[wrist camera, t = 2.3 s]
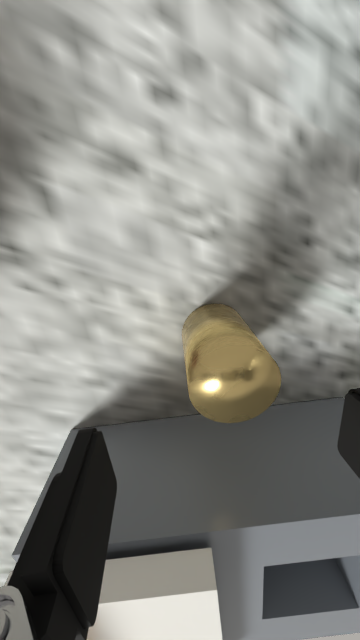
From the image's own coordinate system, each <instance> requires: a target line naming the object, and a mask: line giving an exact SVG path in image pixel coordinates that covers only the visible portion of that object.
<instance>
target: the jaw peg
mask: <svg viewBox="0 0 360 640" xmlns="http://www.w3.org/2000/svg"><path fill="white" fill-rule="evenodd" d="M182 341H183V349H184V358H185V367H186V375H187V384H188V393H189V398H190V400H191V403H192V404H193V406H194V407H195V409H196V410H197V411H198V412H199V413H200V414H202V415H203V416H204V417H206V418H208V419H210V420H213V421H216V422H221V423H238V422H243V421H247V420H249V419H252V418H254V417H256V416H258V415H260V414H261V413H263V412H264V411H265V410H266V409H268V408H269V407H270V406H271V404H272V403H273V402H274V400H275V399H276V397H277V395H278V393H279V390H280V387H281V374H280V370H279V367H278V365H277V364H276V362H275V361H274V359H273V358H272V357H271V356H270V354H269V353H268V352H267V350H266V349H265V348H264V346H263V345H262V344H261V342H260V341H259V340H258V339H257V337H256V336H255V335H254V333H253V332H252V331H251V329H250V328H249V327H248V326H247V324H246V323H245V322H244V320H243V319H242V318H241V316H240V315H239V314H238V313H237V312H236V311H235V310H234V309H232V308H231V307H229V306H226V305H223V304H208V305H204V306H202V307H199V308H198V309H196V310H195V311H193V312H192V313H191V314H190V315H189V316H188V318H187V319H186V321H185V323H184V325H183V329H182Z"/></svg>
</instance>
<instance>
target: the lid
mask: <svg viewBox="0 0 360 640" xmlns="http://www.w3.org/2000/svg"><path fill="white" fill-rule="evenodd" d="M12 573H13V571H11V572H10V574H9V576H8V578H7V581H6V583H5V585H4V586H7V585H8V582H9V580H10V578H11V575H12ZM87 640H222V631H221V622H220V613H219V603H218V594H217V586H216V579H215V571H214V563H213V556H212V548H203V549H194V550H186V551H177V552H169V553H160V554H152V555H144V556H135V557H127V558H118V559H110V560H106V562H105V568H104V574H103V580H102V586H101V593H100V599H99V605H98V611H97V617H96V621H95V624H94V626H92V627H89V629H88V635H87Z"/></svg>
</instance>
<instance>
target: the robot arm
mask: <svg viewBox="0 0 360 640" xmlns="http://www.w3.org/2000/svg"><path fill="white" fill-rule="evenodd" d="M337 447H338V451H339V453H340V455H341V456H342V458H343V459H344V460H345V461H346V463H347V464H348V465H349V466H350V468H351V469H352V470H353V471H354V473H355V474H356V475H357V476H358V478H359V479H360V388H357V389H351V390H349V392H348V394H346V396H345V400H344V406H343V413H342V419H341V425H340V431H339V437H338V444H337ZM116 493H117V480H116V476H115V473H114V470H113V466H112V463H111V460H110V456H109V453H108V450H107V446H106V443H105V440H104V436H103V433H102V431H97V429H96V428H88V429H81V430H79V431H78V433H77V435H76V438H75V440H74V443H73V445H72V448H71V450H70V453H69V455H68V458H67V460H66V463H65V465H64V468H63V470H62V472H61V473H57V474H56V475H55V476H54V477H53V479H52V481H51V483H50V486H49V488H48V490H47V493H46V495H45V498H44V500H43V502H42V505H41V507H40V509H39V512H38V514H37V516H36V519H35V521H34V523H33V526H32V528H31V530H30V533H29V535H28V538H27V540H26V542H25V545H24V547H23V549H22V552H21V554H20V556H19V559H18V561H17V563H16V566H15V568H14V570H13V573H12V575H11V578H10V580H9V582H8V585H7V586H2V587H0V640H87V635H88V629H89V627H92V626H94V624H95V621H96V617H97V611H98V605H99V599H100V593H101V586H102V580H103V574H104V568H105V562H106V555H107V549H108V543H109V537H110V531H111V524H112V518H113V512H114V506H115V499H116Z"/></svg>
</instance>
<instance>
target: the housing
mask: <svg viewBox="0 0 360 640" xmlns="http://www.w3.org/2000/svg"><path fill="white" fill-rule="evenodd" d="M344 400H345V399H344V398H343V397H339V398H331V399H323V400H315V401H306V402H298V403H290V404H281V405H273V406H270V407H269V408H268V409H266V410H265V411H264V412H263V413H261V414H260V415H258V416H256V417H254V418H252V419H249V420H247V421H243V422H238V423H221V422H216V421H213V420H210V419H208V418H206V417H204V416H203V415H202V414H198V415H190V416H181V417H173V418H165V419H157V420H148V421H140V422H132V423H123V424H115V425H107V426H98V427H90V428H96V429H97V431H102V433H103V436H104V440H105V443H106V446H107V450H108V453H109V456H110V460H111V463H112V466H113V470H114V473H115V476H116V480H117V493H116V499H115V506H114V512H113V518H112V524H111V531H110V537H109V543H108V549H107V555H106V560H110V559H118V558H127V557H135V556H144V555H152V554H160V553H169V552H177V551H186V550H194V549H203V548H212V556H213V563H214V571H215V579H216V586H217V594H218V603H219V613H220V622H221V631H222V640H301V639H309V638H318V637H326V636H334V635H343V634H352V633H360V479H359V478H358V476H357V475H356V474H355V473H354V471H353V470H352V469H351V468H350V466H349V465H348V464H347V463H346V461H345V460H344V459H343V458H342V456H341V455H340V453H339V451H338V447H337V444H338V437H339V431H340V425H341V419H342V413H343V406H344ZM82 429H88V428H82ZM79 430H81V429H73V430H71V431H70V433H69V435H68V437H67V440H66V442H65V444H64V446H63V448H62V450H61V452H60V454H59V457H58V459H57V461H56V463H55V465H54V467H53V469H52V471H51V473H50V476H49V478H48V480H47V482H46V484H45V486H44V488H43V490H42V492H41V495H40V497H39V499H38V501H37V503H36V505H35V507H34V509H33V512H32V514H31V516H30V518H29V520H28V522H27V524H26V526H25V528H24V531H23V533H22V535H21V537H20V539H19V541H18V543H17V545H16V548H15V550H14V552H13V554H12V556H13V558H14V559H15V561H16V562H17V561H18V559H19V556H20V554H21V552H22V549H23V547H24V545H25V542H26V540H27V538H28V535H29V533H30V530H31V528H32V526H33V523H34V521H35V519H36V516H37V514H38V512H39V509H40V507H41V505H42V502H43V500H44V498H45V495H46V493H47V490H48V488H49V486H50V483H51V481H52V479H53V477H54V476H55V475H56V474H57V473H61V472H62V470H63V468H64V465H65V463H66V460H67V458H68V455H69V453H70V450H71V448H72V445H73V443H74V440H75V438H76V435H77V433H78V431H79Z"/></svg>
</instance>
